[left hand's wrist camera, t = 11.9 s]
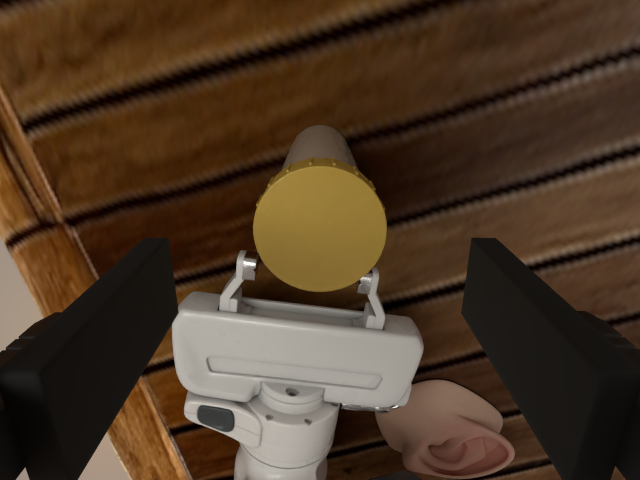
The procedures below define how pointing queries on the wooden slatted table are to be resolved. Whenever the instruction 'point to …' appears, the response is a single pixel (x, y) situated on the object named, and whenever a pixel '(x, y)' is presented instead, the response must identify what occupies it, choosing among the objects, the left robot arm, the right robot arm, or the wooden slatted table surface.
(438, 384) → the anatomical model
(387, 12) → the wooden slatted table surface
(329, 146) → the beige cylinder
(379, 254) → the lid
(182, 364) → the right robot arm
